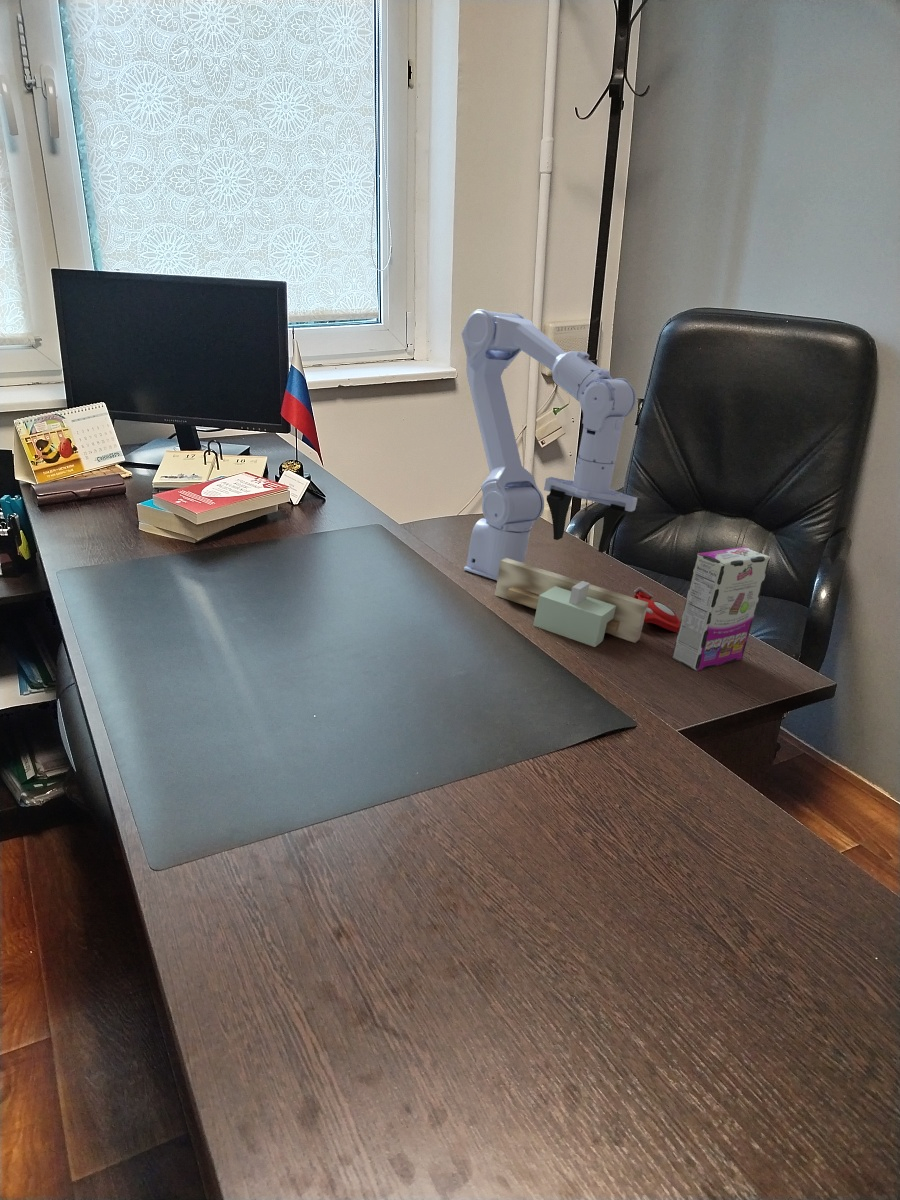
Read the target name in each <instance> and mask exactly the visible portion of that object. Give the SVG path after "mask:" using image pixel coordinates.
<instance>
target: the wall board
mask: <svg viewBox="0 0 900 1200" xmlns="http://www.w3.org/2000/svg"><path fill="white" fill-rule="evenodd" d="M580 582H581V580H577V579H575V578H573V577H568V576H566V575H563V574H559V573H556V572H552V571H549V570H546V569H543V568H539V567H537V566H534V565H530V564H527V563H525V562H524V563H521V562H518V561H515V560H512V559H509V558H505V559H503V560H501V562H500V568H499V573H498V579H497V580H496V586H495V591H494V596H496V597H499V598H501V599H505V600H507V601H511V602H513V603H517V604H520V605H522V606H525V607H529V608H531V609H535V610H536V609H537V604H538V599H539V595H541V594H543V593H544V592H546V591H548V590H550V589H551V588H553V587H555V586H557V587H560V588H563V589H566V590H569V591H572V587H573V586H575V585H576V584H578V583H580ZM587 597H591V598H594V599H597V600H600V601H603V602H606V603H609V604H612V605H615V606H616V609H615V613H614V618H613V619H612V620H610V621H609V622H608V623H607V625H606V630H605V634H607V635H611V636H614V637H616V638H619V639H623V640H625V641H628V642H632V643H635V644H636V643H637V642H638V641H639V640H640V639H641V634H642V630H643V628H644V627H643V626H644V623H645V622H644V619H645V614H646V610H647V606H648V602H645V601H642V600H639V599H636V598H634V597H632V596H630V595H626V594H623V593H620V592H617V591H613V590H610V589H606V588H603V587H601V586H598V585H594V584H591V583H590V585H589V590H588V594H587Z"/></svg>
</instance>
